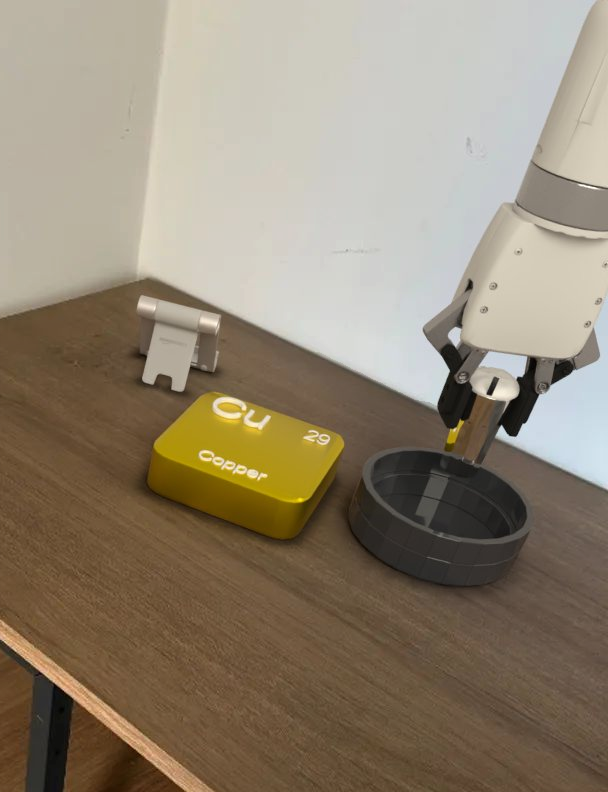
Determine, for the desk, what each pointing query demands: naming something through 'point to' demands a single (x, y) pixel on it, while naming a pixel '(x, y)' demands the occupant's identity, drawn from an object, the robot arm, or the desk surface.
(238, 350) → the desk surface
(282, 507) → the element tile
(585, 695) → the desk surface
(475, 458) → the milkshake
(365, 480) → the pan
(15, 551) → the desk surface
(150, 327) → the tablet stand
